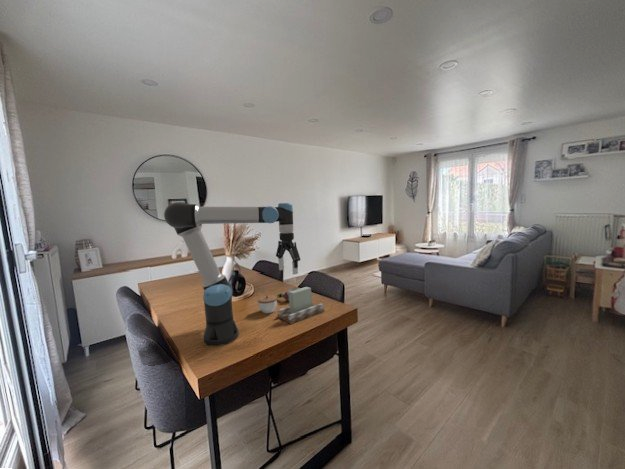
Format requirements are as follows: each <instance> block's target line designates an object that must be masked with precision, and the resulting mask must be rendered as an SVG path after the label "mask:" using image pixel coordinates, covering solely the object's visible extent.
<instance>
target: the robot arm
mask: <svg viewBox="0 0 625 469" xmlns="http://www.w3.org/2000/svg"><path fill="white" fill-rule="evenodd" d="M293 210H294V209H293V204H292V203H290V202H281V203H278V205H277V207H274V206H199V205H198V204H195V203H193V204H191V203H186V202H177V201H176V202H172V203H170V204H169V205H167V207H166V208H165V210H164V213H163V217H164V220H165V222H166V224H168V225H169V226H170V227H171V228H173V229H174V230H175V232H176V234H177V236H179V237H182V239H183V241H184V243H185V245H186V248H187V249H188V252H189V254H190V256H191V258H192V259H193V262H194V264H195V265H196V268H197V270H198V272H199V274H200V277H201V278H202V280H203V283H202V288H203V290H204V291H203V297H202V299H203V304H204V313H205V314H204V315H205V321H206V323H205V329H204V332H203V336H202V338H203V343H204V344H205V345H206V346H209V347H220V346H224V345H227V344H230V343H232V342H233V341H235V340H236V339H237V338H239V329H238V327H237V324H236V322H235V320H234V312H233V295H234V294H233V293H234V290H233V289H234V288H233V286H232V284H230V282H229V280H228V278H227V276H226V275H225V274H222V273H221V272H220V269H219V267H218V265H217V262H216V260H215V258H214V256H213V254H212V252H211V250H210V248H209V247H210V246H208V243H207V240H206V238H205V236H204V235H203V232H202V227H203V225H214V224H215V225H217V224H218V225H221V224H222V225H223V224H224V225H225V224H274V223H275V222H278V229H279V230H278V231H279V240H278V242H277V250H276V252H275V257H277V259H278V260H277V261H278V270H279V271H284V270H285V266H284V264H285V262H284V261H285V259H284V254H285V252H288V253H289V255H290V257H291V260H292V261H291V262H292V263H291V264H292V275H298V274H299V272H298V270H299V268H298V267H299V261H301V257H300V253H299V250H298V248H297V242H296V241H295V242H293V240H294V239H295V235H294V211H293Z"/></svg>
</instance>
